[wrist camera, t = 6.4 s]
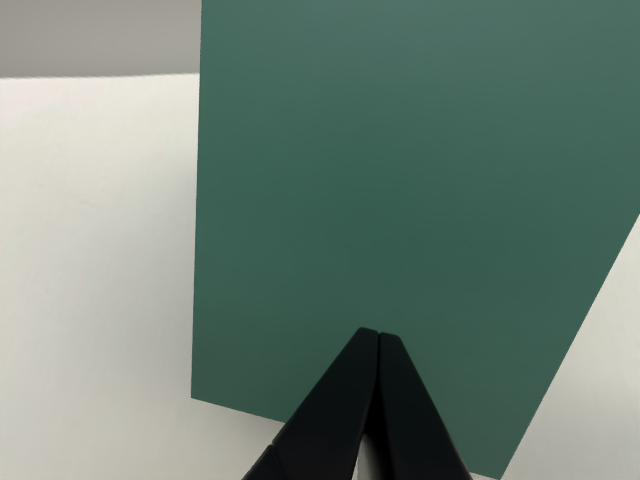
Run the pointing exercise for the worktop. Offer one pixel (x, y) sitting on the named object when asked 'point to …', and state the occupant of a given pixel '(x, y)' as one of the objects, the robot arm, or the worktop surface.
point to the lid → (410, 196)
